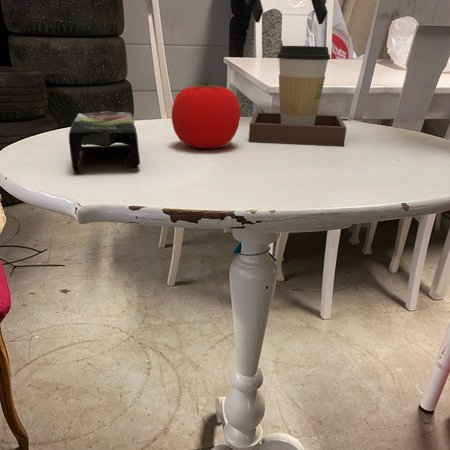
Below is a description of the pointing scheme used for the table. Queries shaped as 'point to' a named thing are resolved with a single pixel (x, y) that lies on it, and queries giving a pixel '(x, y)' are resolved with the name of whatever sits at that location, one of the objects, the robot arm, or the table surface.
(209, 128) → the tomato
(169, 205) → the table surface
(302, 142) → the serving tray
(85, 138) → the black box
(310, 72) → the coffee cup
